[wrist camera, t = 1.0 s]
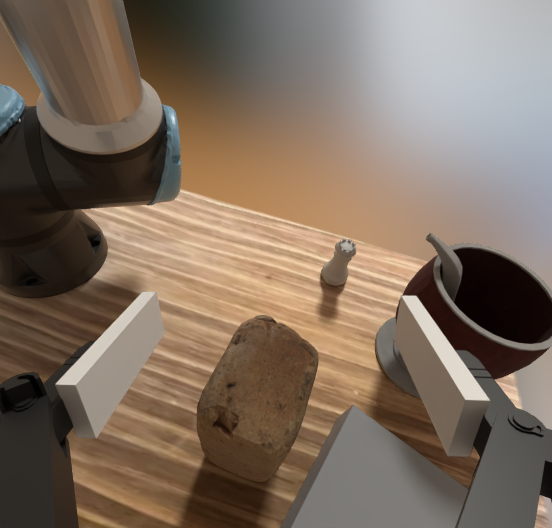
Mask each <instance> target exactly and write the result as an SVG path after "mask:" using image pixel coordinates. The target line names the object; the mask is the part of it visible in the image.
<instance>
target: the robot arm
mask: <svg viewBox="0 0 552 528" xmlns="http://www.w3.org/2000/svg"><path fill="white" fill-rule="evenodd" d="M0 20H1V22H2V23H3V25H4V27H5V29H6V30H7V32H8V34H9V36H10V37H11V39H12V41H13V43H14V44H15V46H16V48H17V50H18V51H19V53H20V55H21V57H22V58H23V60H24V62H25V63H26V65H27V67H28V69H29V70H30V72H31V74H32V75H33V77H34V79H35V81H36V83H37V84H38V86H39V88H40V90H41V91H42V92H41V94H40V95H39V98H38V101H37V106H25V101H24V99H23V98H22V97H21V96H20V95H19V94H18V93H17V92H16V91H15V90H14V89H12V88H11V87H9V86H6V85H5V86H3V85H1V84H0V287H1V288H2V289H3V290H5V291H6V292H8V293H10V294H13V295H16V296H20V297H27V298H39V297H47V296H52V295H57V294H60V293H63V292H66V291H68V290H71V289H73V288H75V287H77V286H79V285H81V284H82V283H84V282H85V281H87V280H88V279H89V278H91V277H92V276H93V275H94V274H95V273H96V272H97V271H98V270H99V268H100V267H101V266H102V264H103V263H104V261H105V258H106V256H107V250H108V246H107V242H106V239H105V237H104V235H103V233H102V231H101V229H100V227H99V226H98V225H97V224H96V223H95V222H94V221H93V220H92V219H91V218H90V217H88V216H87V215H86V214H85V213H84V212H83V211H82V210H81V209H91V208H106V207H121V206H136V205H153V204H155V203H161V202H169V201H172V200H174V199H175V198H176V197H177V196H178V194H179V192H180V187H181V160H180V137H179V128H178V122H177V117H176V113H175V111H174V109H173V108H171V107H169V106H165V105H163V104H161V101H160V99H159V97H158V95H157V93H156V91H155V90H154V89H153V88H152V87H151V86H150V85H149V84H148V83H147V82H146V81H144V80H143V79H141V78H140V74H139V70H138V65H137V61H136V57H135V52H134V48H133V43H132V39H131V35H130V30H129V26H128V21H127V17H126V13H125V9H124V4H123V0H0ZM164 334H165V331H164V326H163V322H162V317H161V312H160V307H159V302H158V298H157V293H156V292H142V293H141V294H140V295H139V296H138V297H137V298H136V299H135V301H134V302H133V303H132V304H131V305H130V306H129V307H128V308H127V309H126V310H125V311H124V312H123V313H122V314H121V315H120V316H119V317H118V318H117V319H116V321H115V322H114V323H113V324H112V325H111V326H110V327H109V328H108V329H107V330H106V331H105V332H104V333H103V334H102V335H101V336H100V337H99V338H98V340H97V341H90V342H88V343H87V344H85V345H84V346H82V347H80V348H79V349H78V350H77V351H76V352H75V353H74V354H73V355H72V356H71V357H70V359H68V360H67V361H66V362H65V363H64V365H63V366H61V367H60V368H59V369H58V370H57V371H56V372H55V373H54V374H53V375H52V376H51V377H50V378H49V379H48V380H47V381H46V382H45V383H44V384H43V383H42V381H41V379H40V377H39V375H38V374H37V373H34V372H30V373H23V374H19V375H16V376H14V377H12V378H10V379H8V380H6V381H5V382H3V383H2V384H0V528H79V525H78V517H77V508H76V500H75V491H74V483H73V474H72V466H71V457H70V449H69V441H68V439H67V437H66V436H67V434H68V433H69V432H70V430H71V429H72V428H74V430H75V433H76V435H77V438H97V437H98V435H99V434H100V432H101V430H102V429H103V427H104V426H105V424H106V423H107V421H108V420H109V418H110V417H111V415H112V414H113V412H114V410H115V409H116V407H117V406H118V404H119V403H120V401H121V400H122V398H123V397H124V395H125V394H126V392H127V390H128V389H129V387H130V386H131V384H132V383H133V381H134V380H135V378H136V377H137V375H138V374H139V372H140V370H141V369H142V367H143V366H144V364H145V363H146V361H147V360H148V358H149V357H150V355H151V354H152V352H153V350H154V349H155V347H156V346H157V344H158V343H159V341H160V340H161V338H162V337H163V335H164ZM394 340H395V342H396V345H397V347H398V349H399V351H400V353H401V356H402V358H403V360H404V362H405V364H406V367H407V369H408V371H409V373H410V375H411V378H412V380H413V382H414V384H415V386H416V389H417V391H418V393H419V395H420V397H421V399H422V402H423V404H424V406H425V408H426V410H427V413H428V415H429V417H430V419H431V421H432V424H433V426H434V428H435V430H436V432H437V435H438V437H439V439H440V441H441V443H442V446H443V448H444V450H445V452H446V454H447V456H459V457H470V454H471V452H472V449H473V446H474V447H475V449H476V451H477V452H478V454H479V456H480V459H479V461H478V464H477V467H476V469H475V472H474V474H473V478H472V481H471V484H470V487H469V489H468V492H467V495H466V498H465V501H464V504H463V506H462V509H461V512H460V515H459V518H458V520H457V523H456V526H455V528H534V526H535V520H536V514H537V508H538V501H539V495H542V496H545V497H548V498H550V499H551V501H552V430H550V429H547V428H545V426H544V425H543V423H542V422H540V421H539V420H538V419H537V418H536V417H535V416H533V415H531V414H530V413H528V412H526V411H524V410H521V409H518V408H516V407H515V406H514V404H513V403H512V402H511V400H510V399H509V398H508V397H507V395H506V394H505V393H504V392H503V390H502V389H501V388H500V386H499V385H498V384H497V383H496V381H495V380H494V379H492V376H491V375H490V374H489V372H488V371H486V368H485V367H484V366H483V365H482V363H481V362H480V361H479V360H478V359H477V358H476V357H475V356H473V355H472V354H471V353H469V352H468V351H463V350H454V349H453V347H452V346H451V344H450V343H449V341H448V340H447V339H446V337H445V336H444V334H443V333H442V332H441V330H440V329H439V327H438V326H437V325H436V323H435V322H434V320H433V319H432V317H431V316H430V315H429V313H428V312H427V310H426V309H425V308H424V306H423V305H422V303H421V302H420V300H419V299H418V298H417V296H401V299H400V305H399V310H398V316H397V322H396V328H395V334H394Z"/></svg>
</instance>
